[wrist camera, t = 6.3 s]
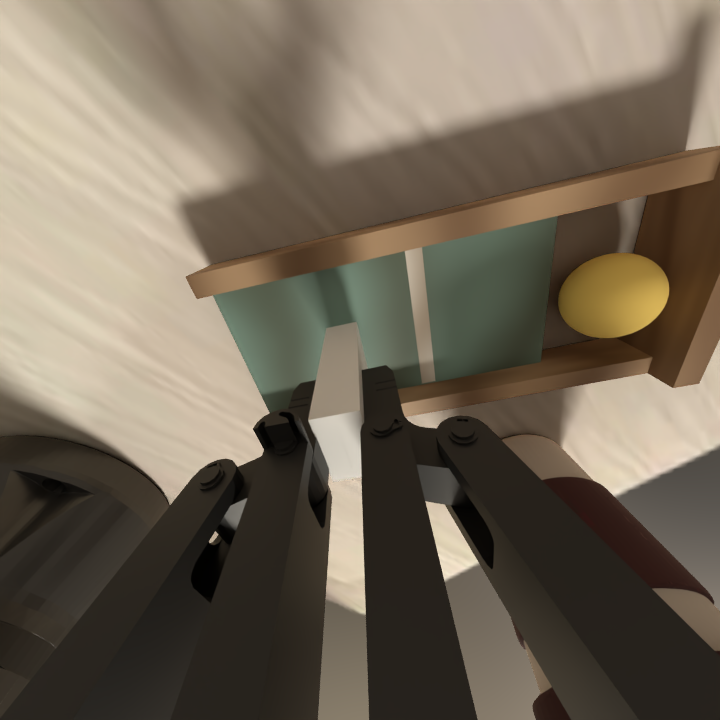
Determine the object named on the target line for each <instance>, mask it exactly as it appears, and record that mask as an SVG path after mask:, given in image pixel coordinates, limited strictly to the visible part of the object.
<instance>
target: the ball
mask: <svg viewBox="0 0 720 720" xmlns="http://www.w3.org/2000/svg"><path fill="white" fill-rule="evenodd" d="M668 296H669V282H668V279H667V277H666V275H665V273H664V271H663V270H662V269H661V268H660V267H659V266H658V265H657V264H656V263H655V262H653V261H652V260H650V259H648V258H646V257H643V256H641V255H636V254H631V253H612V254H606V255H602V256H599V257H596V258H593V259H591V260H589V261H587V262H585V263H583V264H582V265H580V266H579V267H578V268H576V269H575V270H574V271H573V272H572V273H571V274H570V275H569V276H568V277H567V279H566V280H565V281H564V283H563V285H562V287H561V289H560V292H559V296H558V307H559V311H560V314H561V316H562V318H563V319H564V321H565V322H566V323H567V324H568V325H569V326H570V327H571V328H573V329H574V330H576V331H578V332H579V333H582V334H584V335H587V336H591V337H597V338H614V337H620V336H625V335H628V334H631V333H634V332H636V331H638V330H640V329H642V328H644V327H645V326H647V325H648V324H650V323H651V322H652V321H653V320H654V319H656V317H657V316H658V315H659V314H660V313H661V311H662V310H663V308H664V307H665V305H666V303H667V300H668Z"/></svg>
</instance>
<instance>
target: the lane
mask: <svg viewBox="0 0 720 720" xmlns="http://www.w3.org/2000/svg"><path fill="white" fill-rule="evenodd" d="M646 195H648V198H647V202H646V206H645V210H644V214H643V218H642V222H641V226H640V230H639V234H638V238H637V242H636V246H635V250H634V254H636V255H641V256H643V257H646V258H648V259H650V260H652V261H653V262H655V263H656V264H657V265H658V266H659V267H660V268H661V269H662V270H663V271H664V273H665V275H666V277H667V279H668V282H669V296H668V300H667V303H666V305H665V307H664V308H663V310H662V311H661V313H660V314H659V315H658V316H657V317H656V319H654V320H653V321H652V322H651V323H650V324H648V325H647V326H645V327H644V328H642V329H640V330H638V331H636V332H634V333H631V334H628V335H625V336H620V337H614V338H602V339H596V340H591V341H586V342H581V343H576V344H571V345H565V346H560V347H555V348H550V349H545V350H542V347H543V338H544V329H545V321H546V312H547V304H548V295H549V287H550V278H551V269H552V261H553V252H554V244H555V235H556V226H557V218H558V216H559V215H563V214H568V213H572V212H576V211H581V210H585V209H589V208H594V207H598V206H602V205H607V204H611V203H615V202H620V201H624V200H629V199H633V198H637V197H642V196H646ZM186 279H187V281H188V283H189V285H190V287H191V289H192V291H193V293H194V294H195V296H196V298H197V299H199V298H203V297H208V296H212V295H213V297H214V299H215V301H216V303H217V305H218V307H219V309H220V311H221V313H222V315H223V317H224V319H225V321H226V323H227V326H228V328H229V330H230V332H231V334H232V336H233V338H234V340H235V342H236V344H237V346H238V348H239V350H240V352H241V354H242V357H243V359H244V361H245V363H246V365H247V367H248V369H249V371H250V373H251V375H252V377H253V379H254V381H255V383H256V385H257V388H258V390H259V392H260V394H261V396H262V398H263V400H264V402H265V404H266V406H267V408H268V410H269V412H270V413H271V412H274V411H277V410H280V409H288V407H289V403H290V402H291V397H292V394H293V391H294V390H295V389H296V388H297V386H298V385H299V384H300V383H303V382H308V381H313V380H316V378H317V373H318V368H319V363H320V358H321V353H322V348H323V343H324V338H325V333H326V328H329V327H334V326H339V325H344V324H348V323H353V322H357V325H358V330H359V334H360V338H361V342H362V346H363V351H364V355H365V359H366V363H367V367H368V369H369V368H374V367H379V366H384V365H387V366H388V367H389V368H390V369H391V370H392V371H393V373H394V377H395V381H396V385H397V389H398V394H399V398H400V402H401V406H402V410H403V414H404V416H405V417H407V416H413V415H418V414H424V413H430V412H435V411H441V410H446V409H452V408H457V407H463V406H468V405H474V404H479V403H485V402H490V401H496V400H501V399H507V398H512V397H518V396H523V395H529V394H534V393H540V392H545V391H551V390H556V389H562V388H567V387H573V386H579V385H584V384H590V383H595V382H601V381H606V380H612V379H617V378H623V377H628V376H634V375H639V374H645V373H648V374H650V375H652V376H653V377H655V378H657V379H659V380H660V381H662V382H664V383H665V384H667V385H669V386H671V387H672V388H676V387H682V386H687V385H693V384H699V383H700V380H701V378H702V376H703V374H704V372H705V370H706V367H707V365H708V363H709V361H710V359H711V356H712V354H713V352H714V350H715V348H716V346H717V343H718V341H719V339H720V146H715V147H708V148H702V149H695V150H688V151H683V152H679V153H675V154H671V155H667V156H662V157H658V158H654V159H650V160H646V161H642V162H637V163H633V164H629V165H625V166H621V167H617V168H612V169H608V170H604V171H600V172H596V173H592V174H587V175H583V176H579V177H575V178H571V179H567V180H562V181H558V182H554V183H550V184H546V185H542V186H537V187H533V188H529V189H525V190H521V191H517V192H513V193H508V194H504V195H500V196H496V197H492V198H488V199H483V200H479V201H475V202H471V203H467V204H463V205H458V206H454V207H450V208H446V209H442V210H438V211H433V212H429V213H425V214H421V215H417V216H413V217H408V218H404V219H400V220H396V221H392V222H388V223H383V224H379V225H375V226H371V227H367V228H363V229H359V230H354V231H350V232H346V233H342V234H338V235H334V236H329V237H325V238H321V239H317V240H313V241H309V242H304V243H300V244H296V245H292V246H288V247H284V248H279V249H275V250H271V251H267V252H263V253H259V254H254V255H250V256H246V257H242V258H238V259H234V260H229V261H225V262H221V263H217V264H213V265H210V266H208V267H206V268H204V269H201V270H199V271H197V272H195V273H193V274H191V275H188V276H186Z"/></svg>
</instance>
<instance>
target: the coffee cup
mask: <svg viewBox="0 0 720 720" xmlns="http://www.w3.org/2000/svg"><path fill="white" fill-rule="evenodd" d="M502 441H503V442H504V443H505V444H506V445H507V446H508V447H509V448H510V449H511V450H512V451H513V452H514V453H515V454H516V455H517V456H518V457H519V458H520V459H521V460H522V461H523V462H524V463H525V464H526V465H527V466H528V467H529V468H530V469H531V470H532V471H533V472H534V473H535V474H536V475H537V476H538V477H539V478H540V479H541V480H542V481H543V482H544V483H545V484H546V485H547V486H548V487H549V488H550V489H551V490H552V491H553V492H554V493H555V494H556V495H558V496H559V497H560V498H561V499H562V500H563V501H564V502H565V503H566V504H567V505H568V506H569V507H570V508H571V509H572V510H573V511H574V512H575V513H576V514H577V515H578V516H579V517H580V518H581V519H582V520H583V521H584V522H585V523H586V524H587V525H588V526H589V527H590V528H591V529H592V530H593V531H594V532H595V533H596V534H597V535H598V536H599V537H600V538H601V539H602V540H603V541H604V542H605V543H606V544H607V545H608V546H609V547H610V548H611V549H612V550H613V551H614V552H615V553H616V554H617V555H618V556H619V557H620V558H621V559H622V560H623V561H624V562H625V563H626V564H627V565H628V566H629V567H630V568H631V569H632V570H633V571H634V572H635V573H636V574H637V575H639V576H640V577H641V578H642V579H643V580H644V581H645V582H646V583H647V584H648V585H649V586H650V587H651V588H652V589H653V590H654V591H655V592H656V593H657V594H658V595H659V596H660V597H661V598H662V599H663V600H664V601H665V602H666V603H667V604H668V605H669V606H670V607H671V608H672V609H673V610H674V611H675V612H676V613H677V614H678V615H679V616H680V617H681V618H682V619H683V620H684V621H685V622H686V623H687V624H688V625H689V626H690V627H691V628H692V629H693V630H694V631H695V632H696V633H697V634H698V635H699V636H700V637H701V638H702V639H703V640H704V641H705V642H706V643H707V644H708V645H709V646H710V647H711V648H712V649H713V650H714V651H715V652H716V653H717V654H718V655H719V656H720V611H719V610H718V609H717V608H716V607H715V606H714V600H713V598H712V596H711V595H710V594H709V593H708V591H707V590H706V589H705V588H704V587H703V586H702V585H701V584H700V583H699V582H698V581H697V580H696V579H695V578H694V577H693V576H692V575H691V574H690V573H689V572H688V571H687V570H686V569H685V568H684V567H683V566H682V565H681V564H680V563H679V562H678V561H677V560H676V559H675V558H674V557H673V556H672V554H670V552H669V551H668V550H667V549H666V548H664V546H663V545H662V544H661V543H660V542H659V541H658V540H656V538H655V537H654V536H653V535H652V534H651V533H650V532H649V531H648V530H647V529H646V528H645V527H644V526H643V525H642V524H641V523H640V522H639V521H638V520H637V519H636V518H635V517H634V516H633V515H632V514H631V513H630V512H629V511H628V510H627V509H626V508H625V507H624V506H623V505H622V504H621V503H620V502H619V501H618V500H617V499H616V498H615V497H614V496H613V495H612V494H611V493H610V492H609V491H608V490H607V489H606V488H605V487H603V486H602V485H601V484H599V483H597V482H595V481H593V480H592V479H591V478H590V477H589V476H588V475H587V474H586V472H585V471H584V470H583V469H582V468H581V467H580V466H579V465H578V464H577V463H576V462H575V461H574V460H573V459H572V458H571V457H570V456H569V455H568V454H567V453H566V452H565V451H564V450H563V449H562V448H561V447H560V446H559V445H558V444H557V443H555V442H554V441H552V440H551V439H548V438H546V437H542V436H538V435H516V436H512V437H508V438H505V439H502ZM511 619H512V618H511ZM512 622H513V625H514V628H515V632H516V635H517V637H518V640H519V642H520V644H521V646H522V647H523V648H524V649H526V651H527V654H528V657H529V660H530V663H531V666H532V669H533V672H534V675H535V678H536V681H537V684H538V687H539V690H540V692H541V694H540V695H539V696H538V698H537V699H536V700H535V701H534V703H533V712H534V715H535V718H536V720H571V719H570V717H569V715H568V713H567V712H566V710H565V708H564V707H563V705H562V703H561V701H560V700H559V698H558V696H557V695H556V693H555V691H554V690H553V688H552V686H551V684H550V683H549V681H548V679H547V678H546V676H545V674H544V673H543V671H542V669H541V667H540V666H539V664H538V662H537V661H536V659H535V657H534V655H533V654H532V652H531V650H530V649H529V647H528V645H527V644H526V642H525V640H524V638H523V637H522V635H521V633H520V632H519V630H518V628H517V627H516V625H515V623H514V621H513V620H512Z"/></svg>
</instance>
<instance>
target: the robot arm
mask: <svg viewBox="0 0 720 720" xmlns="http://www.w3.org/2000/svg"><path fill="white" fill-rule="evenodd" d="M253 430H254V432H255V434H256V436H257V437H258V439H259V441H260V443H261V445H262V447H263V448H264V452H263V455H262V456H261V457H259V458H257V459H255V460H253V461H250V462H248V463H246V464H244V465H241V466H239V467H237V466H236V464H235V463H234V462H233V461H232V460H229V459H221V460H217V461H214V462H212V463H210V464H208V465H207V466H205V467H204V468H202V469H201V470H200V471H199V472H198V473H197V474H196V475H195V476H194V477H193V478H192V479H191V480H190V481H189V483H188V484H187V485H186V486H185V488H184V489H183V490H182V491H181V493H180V494H179V495H178V496H177V498H176V499H175V500H174V501H173V503H172V504H171V505H170V506H169V505H168V502H167V501H166V499H165V497H164V496H163V495H162V493H161V492H160V491H159V490H158V488H157V487H156V486H155V485H154V484H153V483H151V482H150V481H149V480H148V479H147V478H146V477H144V476H143V475H142V474H140V473H139V472H138V471H136V470H135V469H133V468H132V467H130V466H128V465H127V464H125V463H123V462H121V461H119V460H117V459H115V458H113V457H111V456H109V455H107V454H104V453H102V452H100V451H97V450H94V449H92V448H89V447H86V446H82V445H79V444H76V443H72V442H68V441H63V440H58V439H53V438H46V437H37V436H8V437H0V720H318V706H319V690H320V675H321V658H322V644H323V627H324V613H325V597H326V582H327V566H328V551H329V535H330V520H331V504H332V496H331V491H330V488H329V486H328V477H329V473H330V476H331V478H332V481H333V482H336V481H342V480H348V479H354V478H361V477H362V504H363V536H364V567H365V599H366V630H367V659H368V660H367V662H368V693H369V720H477V715H476V711H475V707H474V703H473V699H472V695H471V691H470V686H469V682H468V679H467V674H466V670H465V666H464V661H463V657H462V653H461V649H460V645H459V640H458V636H457V632H456V628H455V624H454V620H453V616H452V611H451V607H450V603H449V599H448V594H447V590H446V586H445V582H444V578H443V574H442V569H441V565H440V561H439V557H438V553H437V549H436V544H435V540H434V536H433V532H432V528H431V524H430V519H429V515H428V511H427V507H426V503H425V501H428V502H434V503H440V504H445V505H446V507H447V509H448V511H449V512H450V514H451V516H452V517H453V519H454V521H455V523H456V524H457V526H458V528H459V529H460V531H461V533H462V535H463V536H464V538H465V540H466V541H467V543H468V545H469V546H470V548H471V550H472V552H473V553H474V555H475V557H476V558H477V560H478V562H479V563H480V565H481V567H482V569H483V570H484V572H485V574H486V575H487V577H488V579H489V580H490V582H491V584H492V586H493V587H494V589H495V591H496V592H497V594H498V596H499V598H500V599H501V601H502V602H503V604H504V606H505V608H506V609H507V611H508V613H509V615H510V616H511V618H512V620H513V621H514V623H515V625H516V627H517V628H518V630H519V632H520V633H521V635H522V637H523V638H524V640H525V642H526V644H527V645H528V647H529V649H530V650H531V652H532V654H533V655H534V657H535V659H536V661H537V662H538V664H539V666H540V667H541V669H542V671H543V673H544V674H545V676H546V678H547V679H548V681H549V683H550V684H551V686H552V688H553V690H554V691H555V693H556V695H557V696H558V698H559V700H560V701H561V703H562V705H563V707H564V708H565V710H566V712H567V713H568V715H569V717H570V719H571V720H720V656H719V655H718V654H717V653H716V652H715V651H714V650H713V649H712V648H711V647H710V646H709V645H708V644H707V643H706V642H705V641H704V640H703V639H702V638H701V637H700V636H699V635H698V634H697V633H696V632H695V631H694V630H693V629H692V628H691V627H690V626H689V625H688V624H687V623H686V622H685V621H684V620H683V619H682V618H681V617H680V616H679V615H678V614H677V613H676V612H675V611H674V610H673V609H672V608H671V607H670V606H669V605H668V604H667V603H666V602H665V601H664V600H663V599H662V598H661V597H660V596H659V595H658V594H657V593H656V592H655V591H654V590H653V589H652V588H651V587H650V586H649V585H648V584H647V583H646V582H645V581H644V580H643V579H642V578H641V577H640V576H639V575H637V574H636V573H635V572H634V571H633V570H632V569H631V568H630V567H629V566H628V565H627V564H626V563H625V562H624V561H623V560H622V559H621V558H620V557H619V556H618V555H617V554H616V553H615V552H614V551H613V550H612V549H611V548H610V547H609V546H608V545H607V544H606V543H605V542H604V541H603V540H602V539H601V538H600V537H599V536H598V535H597V534H596V533H595V532H594V531H593V530H592V529H591V528H590V527H589V526H588V525H587V524H586V523H585V522H584V521H583V520H582V519H581V518H580V517H579V516H578V515H577V514H576V513H575V512H574V511H573V510H572V509H571V508H570V507H569V506H568V505H567V504H566V503H565V502H564V501H563V500H562V499H561V498H560V497H559V496H558V495H556V494H555V493H554V492H553V491H552V490H551V489H550V488H549V487H548V486H547V485H546V484H545V483H544V482H543V481H542V480H541V479H540V478H539V477H538V476H537V475H536V474H535V473H534V472H533V471H532V470H531V469H530V468H529V467H528V466H527V465H526V464H525V463H524V462H523V461H522V460H521V459H520V458H519V457H518V456H517V455H516V454H515V453H514V452H513V451H512V450H511V449H510V448H509V447H508V446H507V445H506V444H505V443H504V442H503V441H502V440H501V439H500V438H499V437H498V436H497V435H496V434H495V433H494V432H493V431H492V430H491V429H490V428H489V427H488V426H487V425H485V424H484V423H483V422H481V421H480V420H478V419H475V418H472V417H469V416H455V417H450V418H448V419H446V420H444V421H442V422H441V423H440V425H439V426H438V427H437V429H435V428H425V427H419V426H417V425H414V424H412V423H411V422H409V421H408V420H407V419H406V418H405V416H404V414H403V410H402V406H401V402H400V398H399V394H398V389H397V385H396V381H395V377H394V373H393V371H392V370H391V369H390V368H389V367H388V366H387V365H384V366H379V367H374V368H369V369H368V367H367V363H366V359H365V355H364V351H363V346H362V342H361V338H360V334H359V330H358V325H357V322H353V323H348V324H344V325H339V326H334V327H329V328H326V333H325V338H324V343H323V348H322V353H321V358H320V363H319V368H318V373H317V378H316V380H313V381H308V382H303V383H300V384H299V385H298V386H297V388H296V389H295V390H294V391H293V394H292V397H291V402H290V403H289V407H288V409H280V410H277V411H274V412H271V413H269V414H268V415H266V416H264V417H263V418H262V419H261V420H260V421H258V422H257V424H256V425H255V427H254V428H253ZM215 531H216V532H217V533H218V534H219V535H218V536H217V538H216V539H215V540H214V541H213V542H212V543H209V540H210V539H211V537H212V535H213V534H214V532H215Z"/></svg>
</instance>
